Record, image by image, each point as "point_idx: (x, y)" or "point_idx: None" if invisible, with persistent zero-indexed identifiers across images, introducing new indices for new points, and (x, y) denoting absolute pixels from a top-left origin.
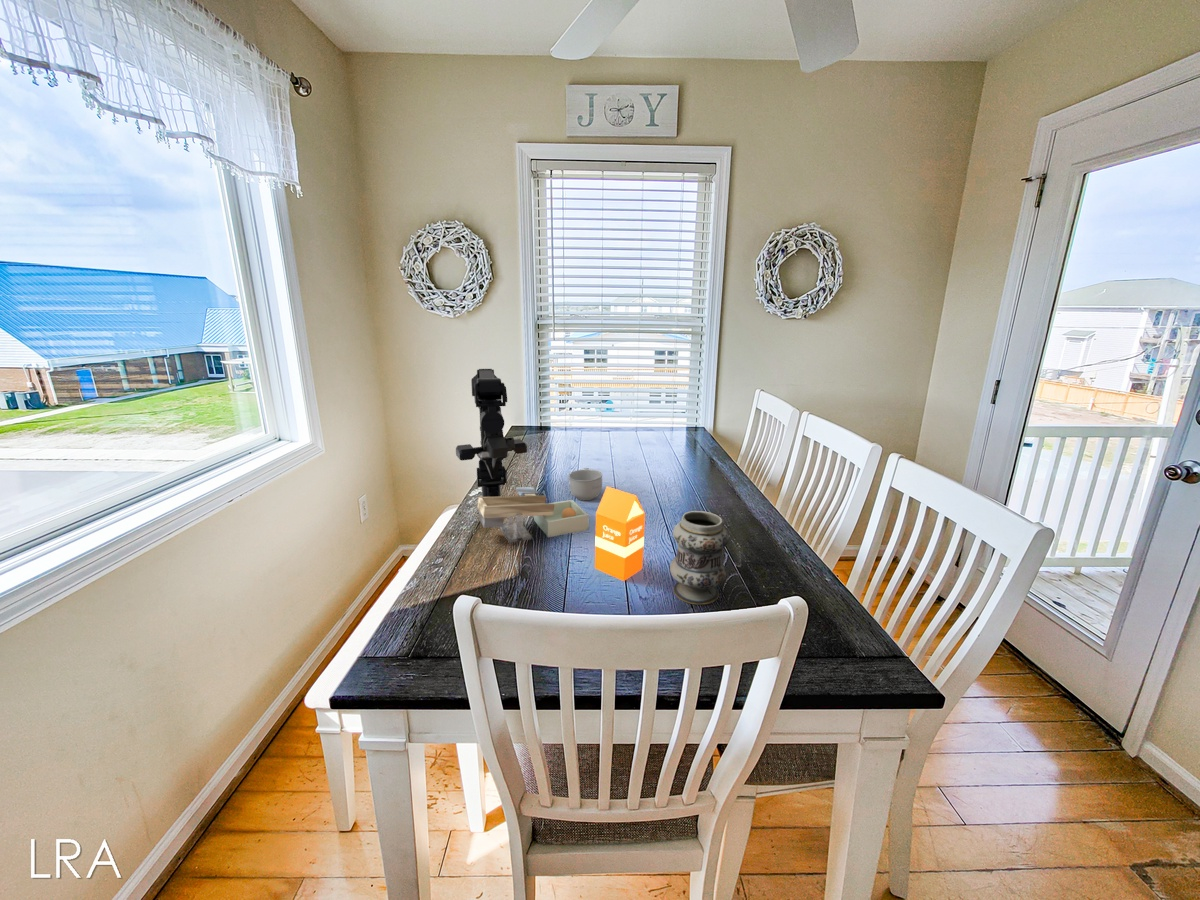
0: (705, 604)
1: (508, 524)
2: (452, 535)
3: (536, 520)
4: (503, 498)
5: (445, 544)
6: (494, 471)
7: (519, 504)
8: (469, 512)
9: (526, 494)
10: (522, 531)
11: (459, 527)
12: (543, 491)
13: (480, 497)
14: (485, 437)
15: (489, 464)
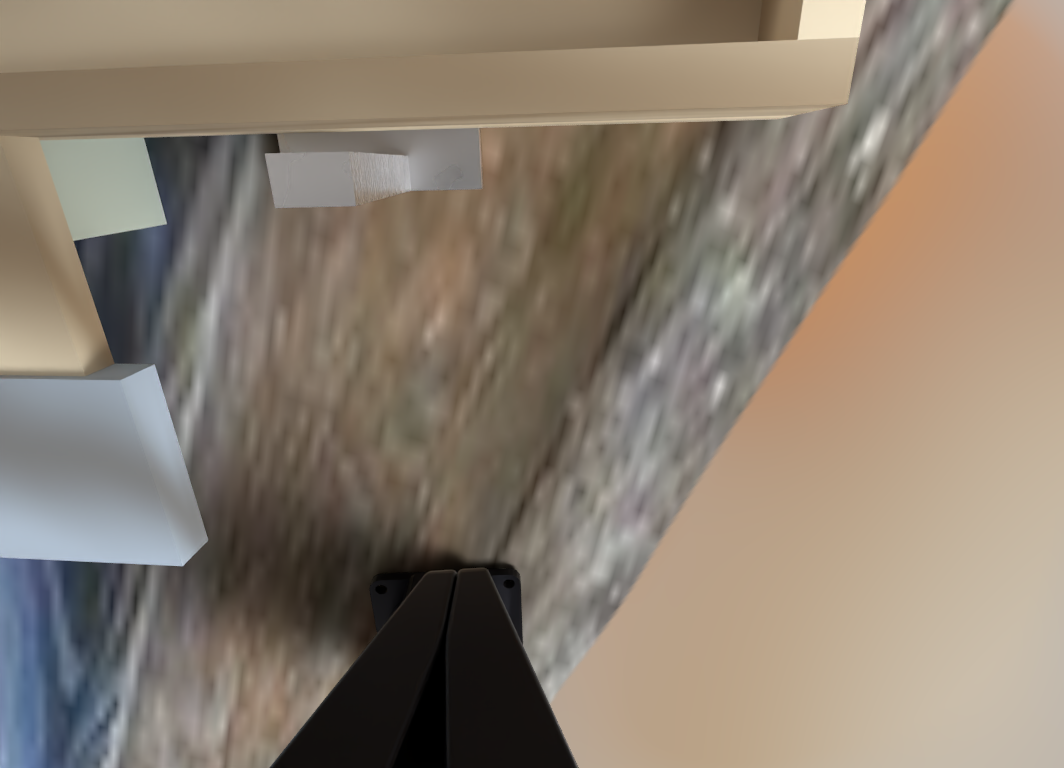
0: None
1: (402, 148)
2: (862, 183)
3: (130, 151)
4: (385, 59)
5: (975, 24)
6: (409, 700)
7: (174, 52)
8: (630, 521)
9: (59, 352)
10: None
11: (767, 308)
12: (71, 681)
13: (815, 72)
14: None
15: None
